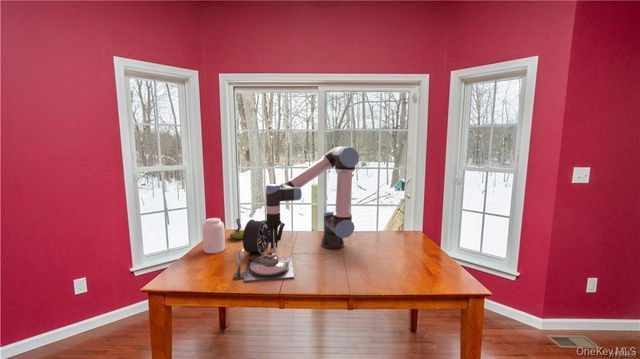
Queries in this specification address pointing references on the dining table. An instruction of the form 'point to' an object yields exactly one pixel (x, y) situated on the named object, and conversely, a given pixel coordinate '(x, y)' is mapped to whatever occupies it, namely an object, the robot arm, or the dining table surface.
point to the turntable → (264, 270)
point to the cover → (270, 259)
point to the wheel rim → (255, 237)
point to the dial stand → (239, 274)
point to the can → (213, 236)
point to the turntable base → (285, 275)
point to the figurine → (237, 231)
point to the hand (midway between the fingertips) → (274, 253)
